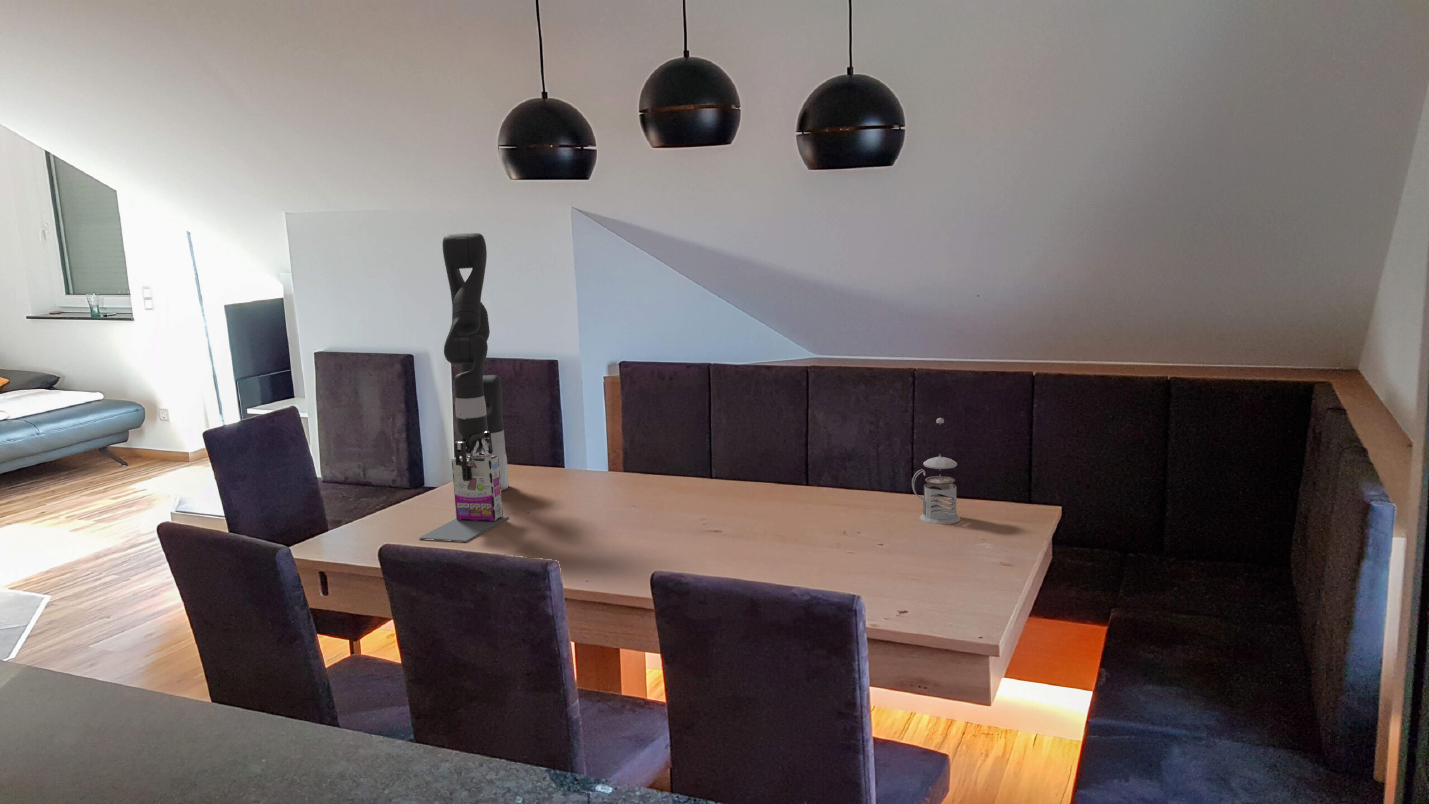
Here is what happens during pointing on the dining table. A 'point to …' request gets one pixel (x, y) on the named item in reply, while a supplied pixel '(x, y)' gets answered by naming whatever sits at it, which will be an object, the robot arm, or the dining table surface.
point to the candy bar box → (478, 490)
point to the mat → (462, 530)
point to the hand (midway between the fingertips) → (476, 476)
